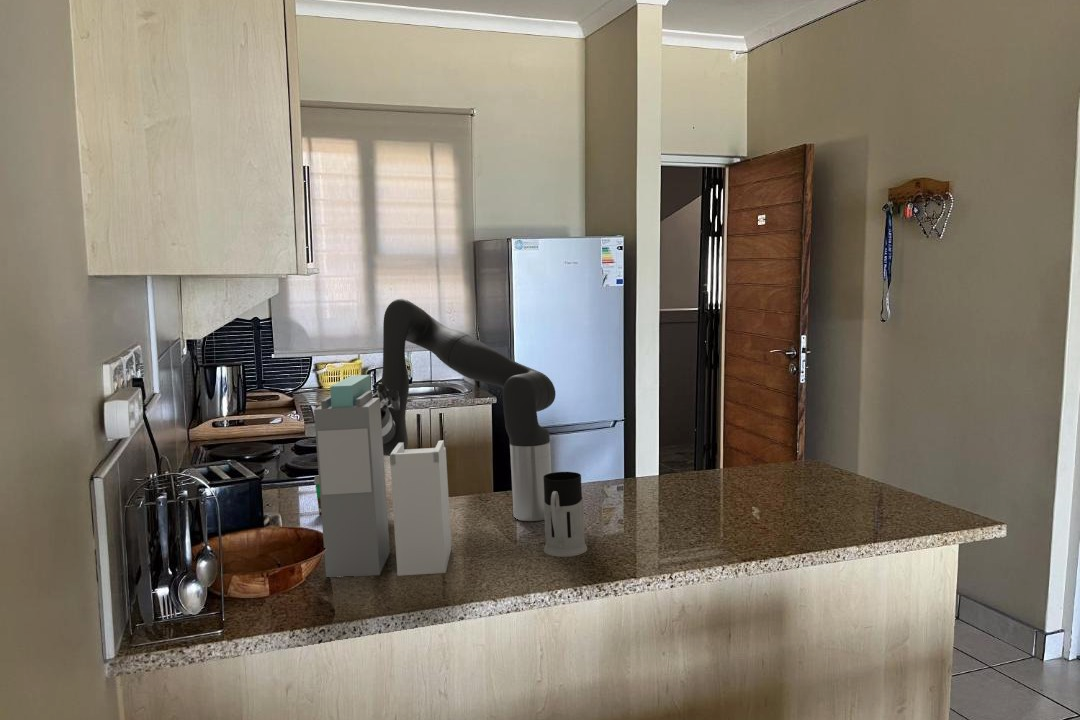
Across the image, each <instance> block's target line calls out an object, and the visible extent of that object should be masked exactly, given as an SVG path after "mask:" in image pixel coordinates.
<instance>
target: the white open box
mask: <svg viewBox="0 0 1080 720" xmlns="http://www.w3.org/2000/svg"><path fill="white" fill-rule="evenodd" d="M389 464H390V478H391V480H390V481H391V495H392V496H391V497H392V510H393V513H392V514H393V524H394V525H393V528H394V539H395V540H394V541H395V543H394V544H395V555H396V556H395V557H396V558H395V559H396V560H395V561H396V571H397V572H396V573H397V576H400V577H401V576H416V575H428V574H432V575H434V574H445V573H447V569H448V565H449V561H450V556H451V551H452V548H451V547H452V533H451V516H450V515H451V514H450V502H449V501H450V500H449V484H448V483H449V482H448V480H449V479H448V468H447V467H448V466H447V465H448V464H447V450H446V447H445V440H444V439H443V440H438V441H437V444H436V445H435V447H429V448H428V447H427V448H425V447H424V448H407V449H405V450H404V442H403V443H398V444H397V446H396V447H395V448H394V450H393V451H392V452H391V454H390V456H389Z"/></svg>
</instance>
